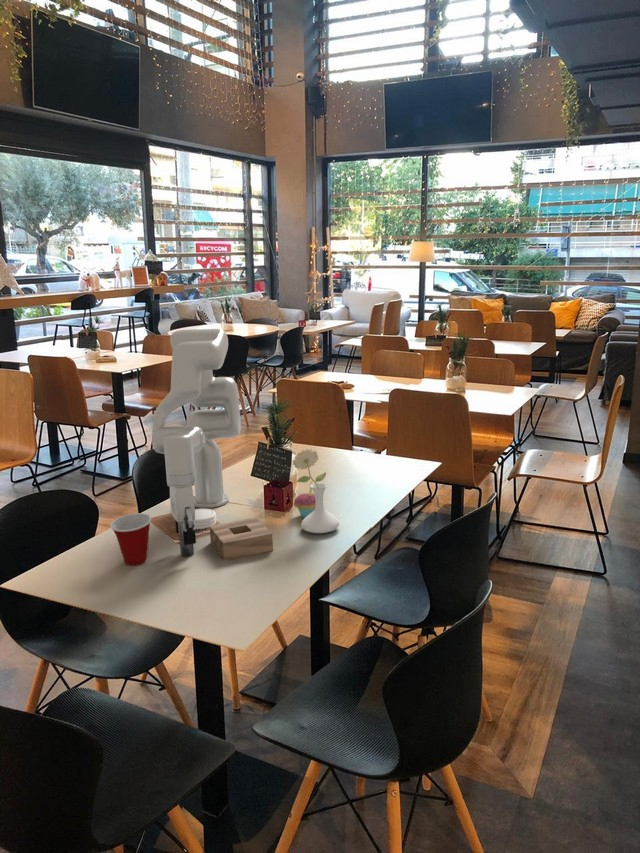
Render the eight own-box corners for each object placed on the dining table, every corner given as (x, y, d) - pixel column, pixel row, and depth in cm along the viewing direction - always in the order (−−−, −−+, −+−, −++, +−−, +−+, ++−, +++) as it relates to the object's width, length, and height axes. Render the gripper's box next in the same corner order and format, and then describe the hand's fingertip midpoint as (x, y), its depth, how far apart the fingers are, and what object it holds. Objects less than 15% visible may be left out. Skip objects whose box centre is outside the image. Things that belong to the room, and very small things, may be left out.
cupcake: (326, 513, 221) (325, 477, 218) (311, 522, 214) (310, 485, 211) (304, 509, 226) (303, 473, 223) (289, 517, 219) (287, 481, 216)
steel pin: (179, 553, 195) (176, 512, 192) (192, 550, 197) (188, 510, 194) (182, 557, 192) (178, 516, 189) (195, 555, 193) (192, 514, 190)
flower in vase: (338, 521, 214) (335, 442, 208) (340, 536, 203) (338, 453, 197) (295, 523, 214) (292, 444, 208) (295, 538, 203) (291, 455, 197)
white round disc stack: (199, 533, 210) (198, 522, 209) (177, 526, 216) (176, 515, 215) (223, 522, 217) (222, 511, 217) (201, 516, 223) (200, 505, 222)
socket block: (210, 542, 202) (209, 526, 201) (256, 533, 207) (255, 517, 206) (224, 560, 189) (223, 543, 188) (273, 550, 195) (272, 533, 193)
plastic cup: (105, 564, 189) (101, 523, 186) (136, 550, 198) (132, 510, 195) (133, 573, 183) (128, 530, 180) (163, 558, 192) (159, 517, 189)
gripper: (160, 472, 195) (165, 530, 199) (174, 489, 180) (179, 552, 184) (187, 468, 198) (191, 525, 202) (202, 484, 183) (207, 546, 187)
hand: (186, 537), depth 193 cm, fingers open, 8 cm apart
